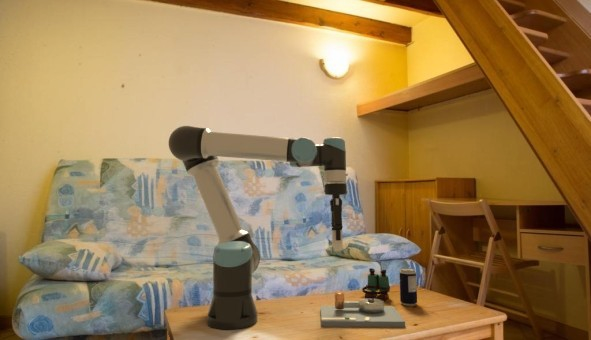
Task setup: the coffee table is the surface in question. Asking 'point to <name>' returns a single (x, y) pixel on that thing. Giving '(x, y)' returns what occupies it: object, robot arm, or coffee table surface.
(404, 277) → the beverage can
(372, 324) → the level board
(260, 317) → the coffee table surface
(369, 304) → the cam lever
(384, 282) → the binoculars
